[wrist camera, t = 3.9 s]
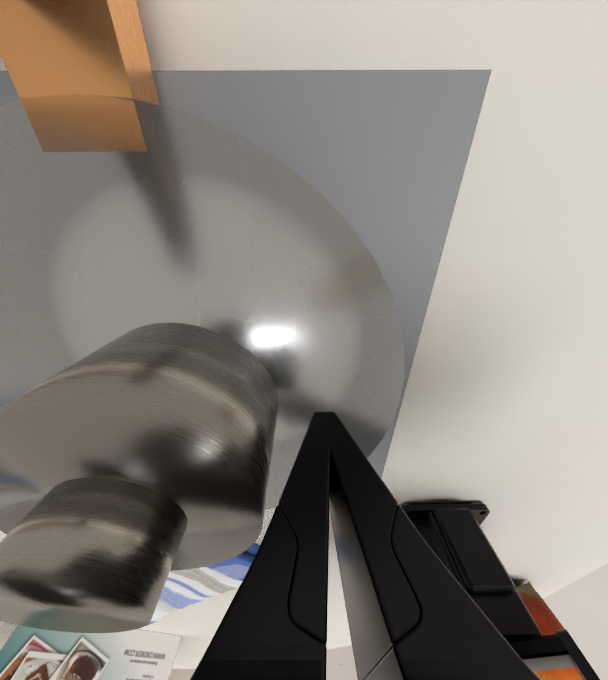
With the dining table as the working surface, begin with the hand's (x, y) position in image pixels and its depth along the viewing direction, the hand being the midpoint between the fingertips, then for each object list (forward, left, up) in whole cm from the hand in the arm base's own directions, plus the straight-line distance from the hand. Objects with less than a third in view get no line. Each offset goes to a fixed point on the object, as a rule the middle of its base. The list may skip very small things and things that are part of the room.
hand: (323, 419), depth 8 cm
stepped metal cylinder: (0, +5, -1) cm, 5 cm away
